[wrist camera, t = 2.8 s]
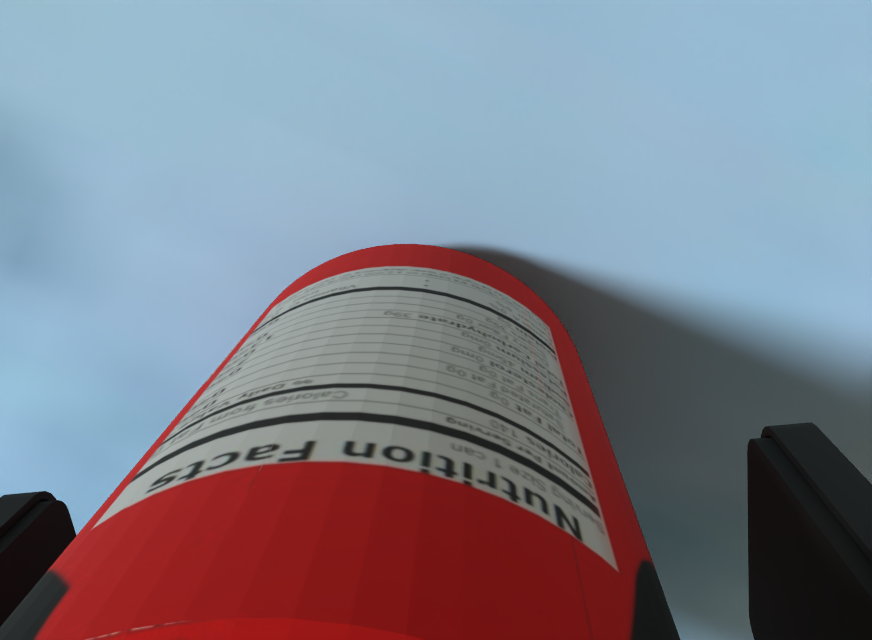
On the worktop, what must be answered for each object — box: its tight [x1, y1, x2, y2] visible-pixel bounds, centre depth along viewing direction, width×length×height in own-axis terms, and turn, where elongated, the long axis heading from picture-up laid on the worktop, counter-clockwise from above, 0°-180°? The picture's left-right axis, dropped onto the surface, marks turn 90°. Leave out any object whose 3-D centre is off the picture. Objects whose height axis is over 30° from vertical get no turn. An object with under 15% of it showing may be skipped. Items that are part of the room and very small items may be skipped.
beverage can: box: [0, 244, 680, 640], centre depth 9 cm, size 6×6×12 cm
